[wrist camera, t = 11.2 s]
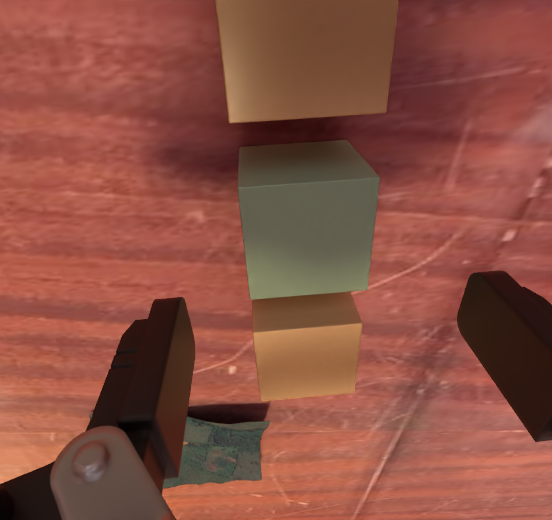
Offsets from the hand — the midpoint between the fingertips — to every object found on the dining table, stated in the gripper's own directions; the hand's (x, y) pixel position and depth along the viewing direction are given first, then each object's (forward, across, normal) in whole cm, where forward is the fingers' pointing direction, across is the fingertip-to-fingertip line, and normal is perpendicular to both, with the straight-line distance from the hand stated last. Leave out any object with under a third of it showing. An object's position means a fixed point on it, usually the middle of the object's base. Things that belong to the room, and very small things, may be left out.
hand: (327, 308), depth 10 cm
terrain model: (+9, +9, +20) cm, 24 cm away
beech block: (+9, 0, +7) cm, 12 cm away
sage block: (+9, 0, 0) cm, 9 cm away
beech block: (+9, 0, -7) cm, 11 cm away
